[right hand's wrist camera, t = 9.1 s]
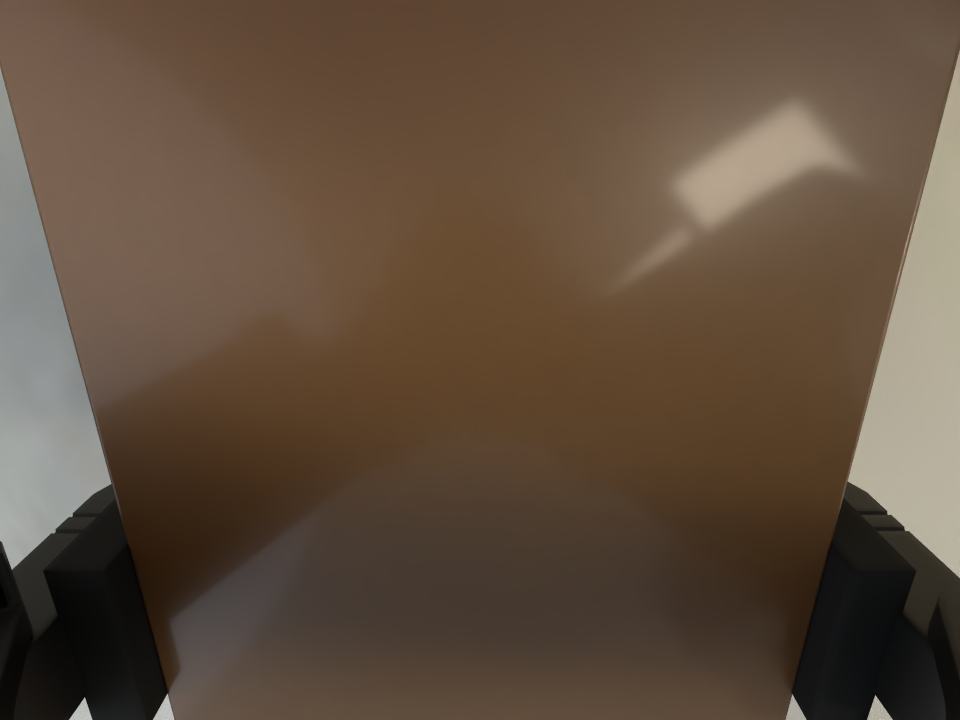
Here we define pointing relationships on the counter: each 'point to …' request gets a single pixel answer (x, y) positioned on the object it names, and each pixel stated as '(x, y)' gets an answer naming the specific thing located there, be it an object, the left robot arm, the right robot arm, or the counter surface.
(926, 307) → the counter surface
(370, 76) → the wooden beam
